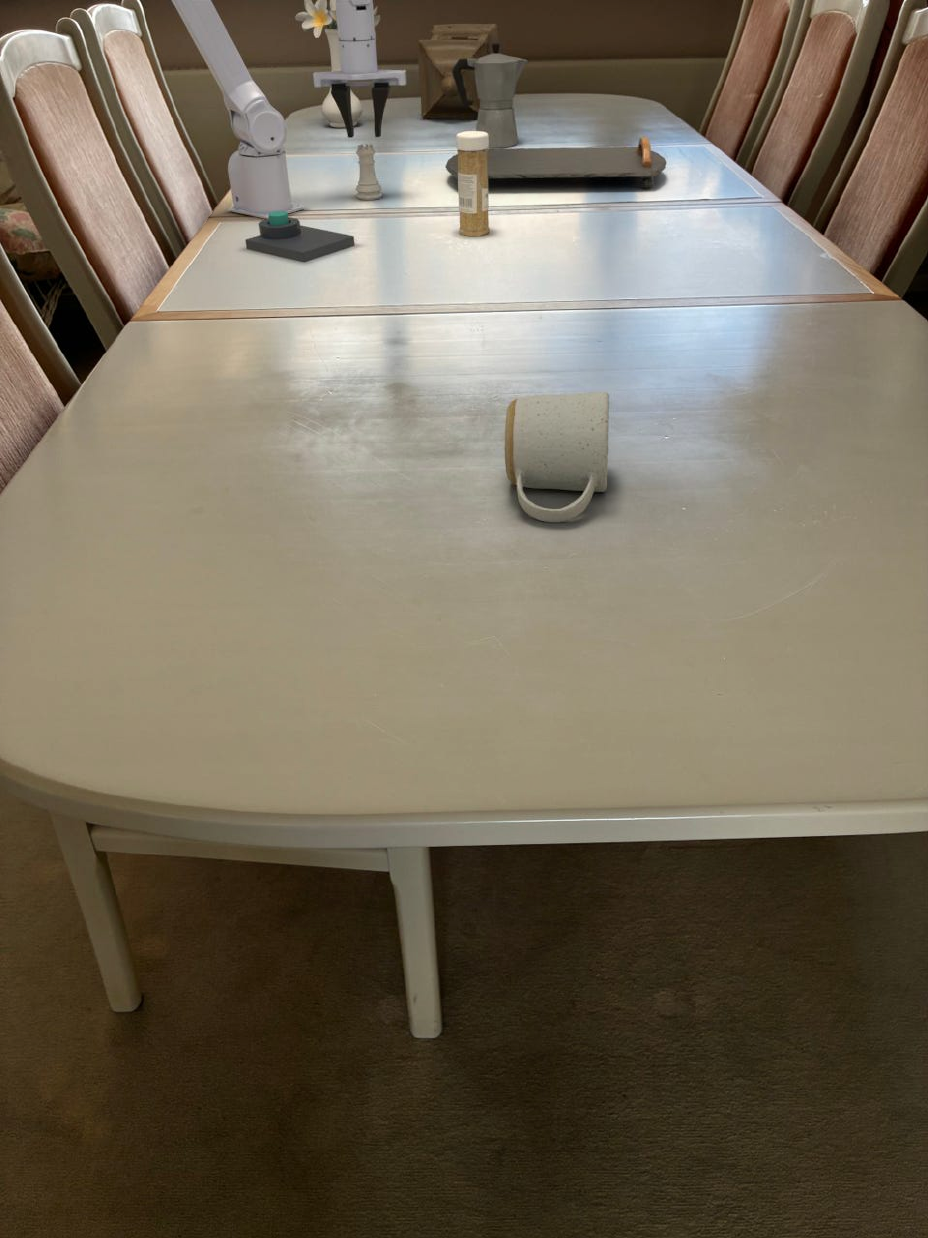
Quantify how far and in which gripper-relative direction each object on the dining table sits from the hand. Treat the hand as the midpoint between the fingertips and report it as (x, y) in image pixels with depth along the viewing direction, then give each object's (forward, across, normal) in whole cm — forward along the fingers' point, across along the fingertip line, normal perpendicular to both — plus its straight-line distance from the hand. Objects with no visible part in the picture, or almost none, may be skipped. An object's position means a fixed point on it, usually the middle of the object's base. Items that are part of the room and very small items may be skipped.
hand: (364, 136), depth 156 cm
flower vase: (+10, -14, +72) cm, 74 cm away
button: (+7, -9, -28) cm, 30 cm away
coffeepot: (+10, +20, +45) cm, 50 cm away
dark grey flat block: (+9, -6, -30) cm, 32 cm away
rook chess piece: (+10, 0, 0) cm, 10 cm away
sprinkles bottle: (+10, +19, -24) cm, 32 cm away
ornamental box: (+10, +11, +85) cm, 87 cm away
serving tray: (+10, +32, +13) cm, 36 cm away
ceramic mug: (+10, +28, -103) cm, 107 cm away
